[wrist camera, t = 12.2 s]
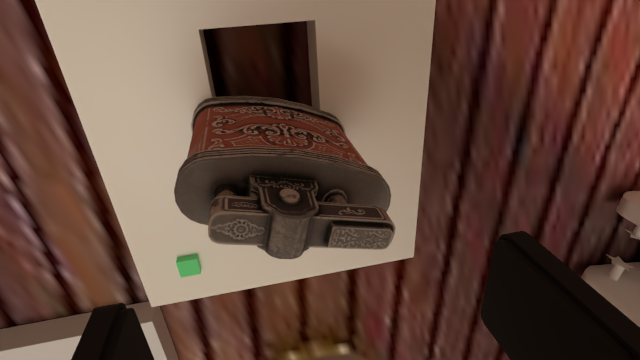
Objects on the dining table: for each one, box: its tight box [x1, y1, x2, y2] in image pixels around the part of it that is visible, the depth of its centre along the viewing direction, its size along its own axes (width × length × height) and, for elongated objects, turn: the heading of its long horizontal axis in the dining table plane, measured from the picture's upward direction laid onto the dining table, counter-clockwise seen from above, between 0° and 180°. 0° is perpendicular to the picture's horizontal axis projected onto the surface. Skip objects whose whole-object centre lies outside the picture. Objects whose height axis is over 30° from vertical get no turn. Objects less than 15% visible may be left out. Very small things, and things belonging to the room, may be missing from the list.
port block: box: [35, 0, 436, 307], centre depth 21 cm, size 18×22×3 cm
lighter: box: [174, 96, 396, 259], centre depth 16 cm, size 8×3×10 cm, turn 78°
